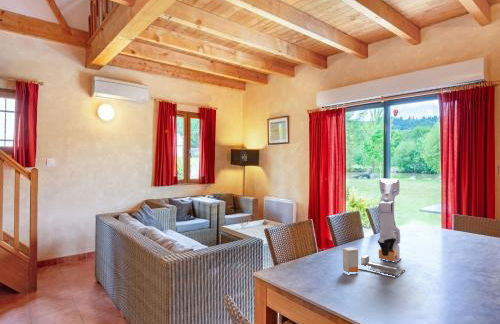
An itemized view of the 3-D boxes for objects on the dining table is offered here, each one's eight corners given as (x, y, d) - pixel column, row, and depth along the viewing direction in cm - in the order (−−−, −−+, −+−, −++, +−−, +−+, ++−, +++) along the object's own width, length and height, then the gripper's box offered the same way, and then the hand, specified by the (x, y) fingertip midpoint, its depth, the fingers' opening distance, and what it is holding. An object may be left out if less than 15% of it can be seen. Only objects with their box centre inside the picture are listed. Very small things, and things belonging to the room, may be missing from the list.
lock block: (378, 258, 146) (378, 249, 146) (382, 255, 149) (382, 247, 149) (394, 261, 141) (393, 252, 141) (397, 258, 144) (397, 250, 144)
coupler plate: (366, 262, 159) (366, 253, 159) (404, 271, 145) (404, 260, 145) (356, 268, 150) (356, 258, 150) (396, 278, 137) (395, 267, 137)
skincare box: (347, 275, 141) (347, 250, 141) (342, 272, 145) (342, 248, 145) (359, 274, 143) (358, 249, 143) (353, 271, 147) (353, 246, 147)
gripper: (389, 230, 137) (390, 259, 137) (400, 224, 148) (401, 252, 148) (374, 228, 142) (374, 256, 142) (385, 223, 153) (386, 249, 153)
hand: (387, 254), depth 145 cm, fingers closed on lock block, 5 cm apart
